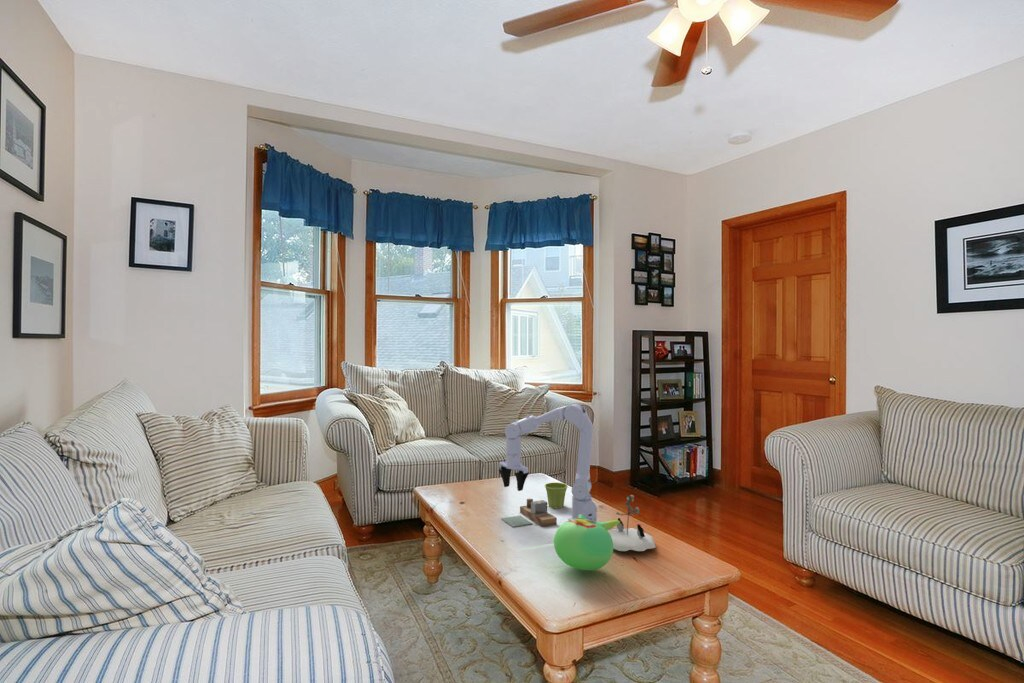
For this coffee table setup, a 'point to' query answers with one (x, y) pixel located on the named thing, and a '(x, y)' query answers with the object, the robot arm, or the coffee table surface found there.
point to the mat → (516, 521)
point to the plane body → (538, 515)
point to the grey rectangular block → (539, 507)
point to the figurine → (630, 534)
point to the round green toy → (584, 543)
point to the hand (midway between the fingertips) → (513, 488)
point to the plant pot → (556, 494)
